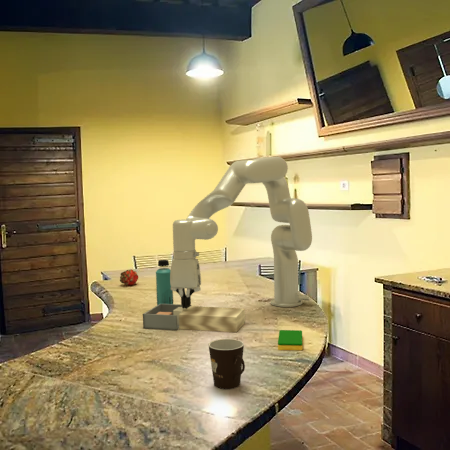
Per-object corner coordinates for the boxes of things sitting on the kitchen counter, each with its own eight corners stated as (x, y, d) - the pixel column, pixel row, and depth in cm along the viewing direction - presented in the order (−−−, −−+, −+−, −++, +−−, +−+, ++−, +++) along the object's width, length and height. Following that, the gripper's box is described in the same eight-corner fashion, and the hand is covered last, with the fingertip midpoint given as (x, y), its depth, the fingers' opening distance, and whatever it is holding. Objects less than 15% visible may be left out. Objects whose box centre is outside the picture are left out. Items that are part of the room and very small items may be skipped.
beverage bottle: (171, 313, 196) (169, 261, 195) (154, 313, 198) (152, 261, 196) (176, 309, 203) (174, 258, 201) (159, 308, 204) (158, 258, 202)
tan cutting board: (244, 322, 181) (244, 308, 181) (236, 332, 170) (236, 317, 169) (191, 319, 187) (190, 306, 186) (179, 329, 175) (178, 314, 175)
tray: (191, 318, 188) (191, 305, 188) (176, 330, 174) (176, 315, 173) (160, 316, 192) (160, 303, 191) (143, 328, 177) (142, 314, 177)
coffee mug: (208, 378, 131) (207, 339, 130) (242, 376, 131) (241, 338, 130) (211, 397, 119) (210, 355, 118) (248, 395, 120) (247, 353, 119)
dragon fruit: (122, 291, 247) (132, 289, 258) (136, 280, 246) (145, 279, 257) (113, 276, 248) (123, 275, 260) (126, 266, 247) (136, 265, 259)
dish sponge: (302, 337, 164) (302, 330, 164) (302, 351, 150) (302, 343, 150) (279, 337, 165) (279, 329, 165) (277, 351, 151) (277, 343, 151)
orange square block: (158, 311, 185) (159, 320, 185) (154, 315, 180) (154, 323, 180) (172, 312, 184) (172, 320, 184) (167, 315, 179) (168, 324, 179)
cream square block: (186, 307, 182) (178, 307, 183) (181, 310, 178) (173, 310, 178) (187, 321, 183) (179, 320, 184) (181, 325, 178) (173, 324, 179)
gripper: (208, 254, 180) (209, 305, 182) (168, 253, 184) (170, 304, 186) (201, 257, 173) (203, 311, 175) (160, 256, 177) (162, 309, 179)
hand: (186, 307), depth 180 cm, fingers closed
